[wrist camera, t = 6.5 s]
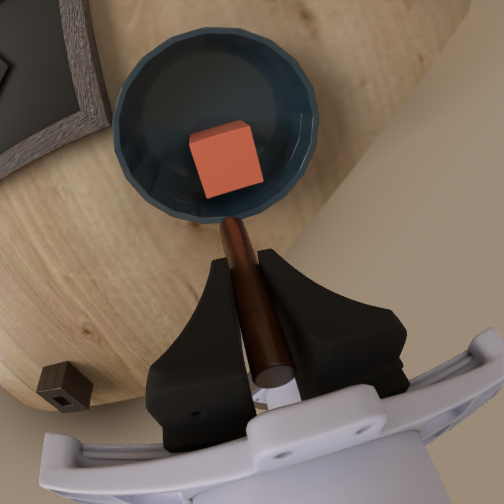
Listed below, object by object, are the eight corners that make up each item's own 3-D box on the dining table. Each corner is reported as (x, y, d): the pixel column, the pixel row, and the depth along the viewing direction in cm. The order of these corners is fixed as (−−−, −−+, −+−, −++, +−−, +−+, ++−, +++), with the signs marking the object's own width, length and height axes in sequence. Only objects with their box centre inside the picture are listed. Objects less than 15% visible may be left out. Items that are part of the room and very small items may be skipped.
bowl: (323, 108, 19) (354, 115, 15) (228, 223, 23) (236, 254, 19) (198, 11, 14) (199, -9, 10) (100, 145, 18) (78, 161, 14)
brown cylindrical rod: (248, 223, 17) (306, 369, 8) (234, 241, 17) (277, 393, 9) (229, 211, 16) (273, 359, 8) (214, 230, 17) (243, 384, 8)
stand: (68, 360, 27) (61, 387, 24) (93, 383, 30) (89, 410, 27) (43, 367, 28) (35, 392, 24) (67, 388, 30) (62, 413, 27)
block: (253, 166, 20) (264, 181, 17) (204, 181, 20) (206, 199, 17) (240, 119, 18) (249, 125, 15) (189, 134, 18) (188, 143, 15)
